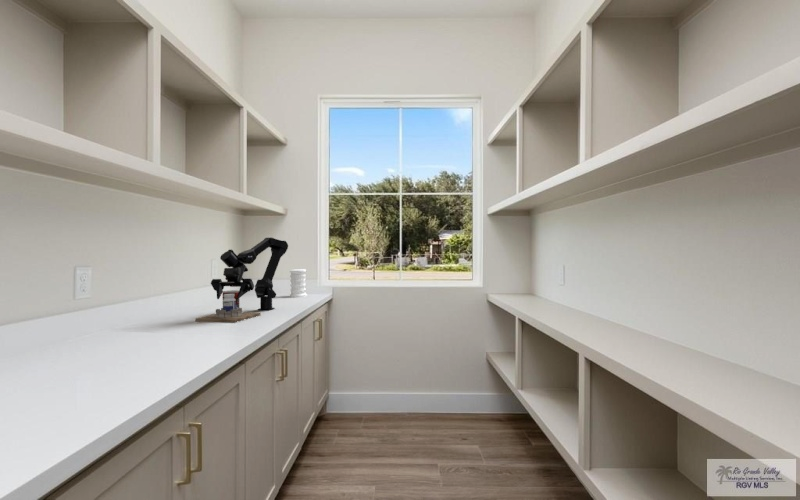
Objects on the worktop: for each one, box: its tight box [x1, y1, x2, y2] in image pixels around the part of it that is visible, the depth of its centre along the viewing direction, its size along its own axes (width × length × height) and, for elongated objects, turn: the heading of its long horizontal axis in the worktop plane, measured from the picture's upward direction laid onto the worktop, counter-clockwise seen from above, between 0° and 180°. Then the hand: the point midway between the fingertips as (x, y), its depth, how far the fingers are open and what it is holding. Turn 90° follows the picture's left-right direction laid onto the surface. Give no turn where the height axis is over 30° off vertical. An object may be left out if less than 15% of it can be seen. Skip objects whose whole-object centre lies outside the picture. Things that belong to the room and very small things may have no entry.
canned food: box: [222, 289, 240, 308], centre depth 212 cm, size 8×8×11 cm
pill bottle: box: [222, 294, 236, 312], centre depth 194 cm, size 6×6×10 cm
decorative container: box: [289, 269, 308, 298], centre depth 286 cm, size 12×12×18 cm
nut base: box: [194, 306, 261, 323], centre depth 194 cm, size 20×20×4 cm
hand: (227, 298), depth 192 cm, fingers open, 9 cm apart
